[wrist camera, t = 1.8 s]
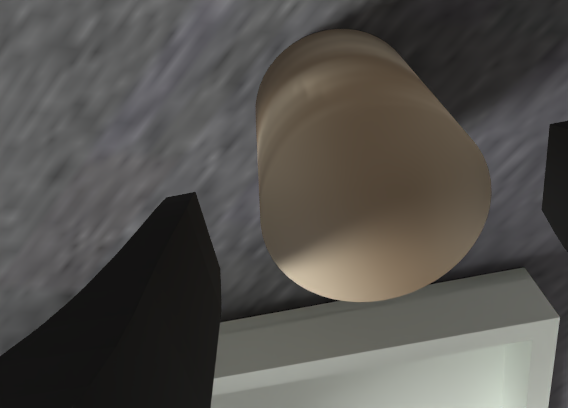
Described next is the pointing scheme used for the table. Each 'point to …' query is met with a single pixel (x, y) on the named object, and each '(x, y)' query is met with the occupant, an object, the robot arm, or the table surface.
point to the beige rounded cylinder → (363, 171)
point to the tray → (397, 350)
